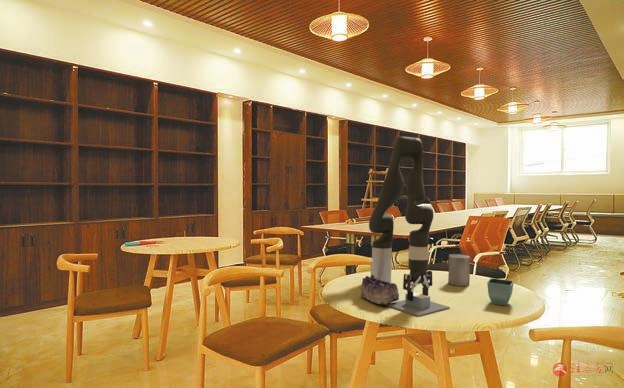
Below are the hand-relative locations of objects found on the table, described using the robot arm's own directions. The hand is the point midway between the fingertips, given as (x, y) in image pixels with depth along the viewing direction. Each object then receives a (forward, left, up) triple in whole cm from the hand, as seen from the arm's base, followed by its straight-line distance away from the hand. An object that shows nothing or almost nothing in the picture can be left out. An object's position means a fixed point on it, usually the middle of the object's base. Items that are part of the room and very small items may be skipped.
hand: (417, 299), depth 156 cm
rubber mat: (0, 0, -3) cm, 3 cm away
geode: (-15, -8, -3) cm, 17 cm away
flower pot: (+15, +32, -3) cm, 36 cm away
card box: (0, 0, -3) cm, 3 cm away
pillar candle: (-14, +46, -3) cm, 48 cm away
